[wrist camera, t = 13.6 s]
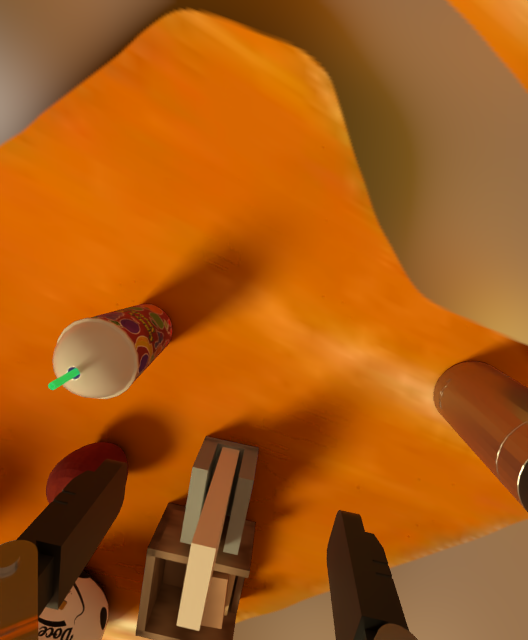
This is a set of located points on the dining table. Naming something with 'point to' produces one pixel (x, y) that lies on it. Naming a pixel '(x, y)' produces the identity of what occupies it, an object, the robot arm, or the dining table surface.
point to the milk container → (77, 613)
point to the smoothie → (109, 350)
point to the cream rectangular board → (207, 542)
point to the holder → (239, 491)
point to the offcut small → (216, 600)
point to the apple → (81, 465)
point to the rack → (169, 576)
